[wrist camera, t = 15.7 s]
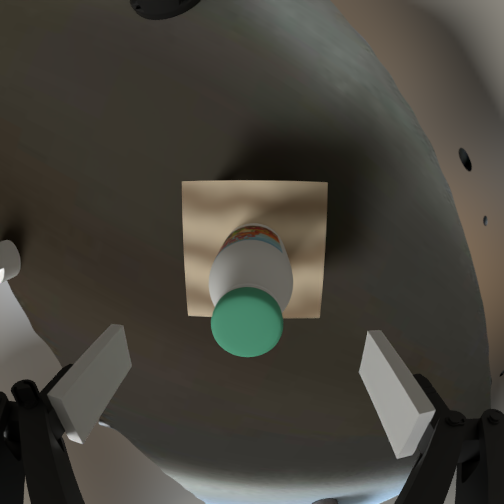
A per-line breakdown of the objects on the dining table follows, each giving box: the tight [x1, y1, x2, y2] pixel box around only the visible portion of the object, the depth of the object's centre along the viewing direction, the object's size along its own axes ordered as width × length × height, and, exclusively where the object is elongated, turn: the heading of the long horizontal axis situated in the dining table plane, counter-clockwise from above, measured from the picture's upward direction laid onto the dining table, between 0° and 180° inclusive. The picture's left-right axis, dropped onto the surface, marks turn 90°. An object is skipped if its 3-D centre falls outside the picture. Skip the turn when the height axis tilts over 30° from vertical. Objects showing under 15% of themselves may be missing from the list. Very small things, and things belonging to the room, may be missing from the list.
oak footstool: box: [182, 180, 328, 318], centre depth 43 cm, size 18×18×12 cm
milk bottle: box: [209, 223, 293, 357], centre depth 28 cm, size 8×8×20 cm
